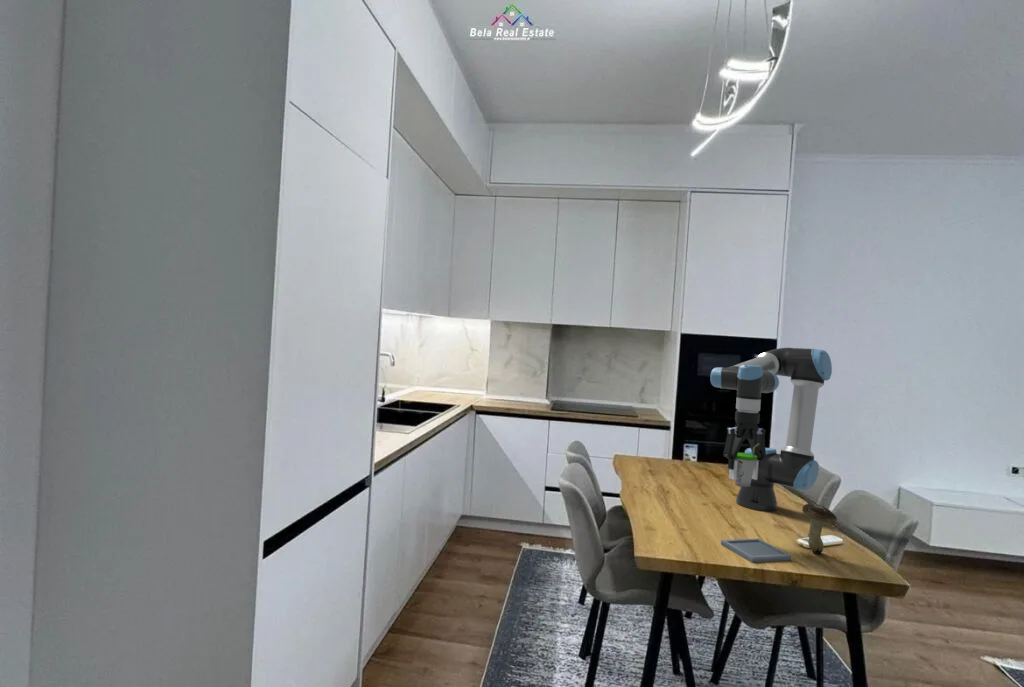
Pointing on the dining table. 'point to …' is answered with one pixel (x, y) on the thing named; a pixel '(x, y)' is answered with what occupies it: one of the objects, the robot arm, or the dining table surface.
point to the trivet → (755, 550)
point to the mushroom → (817, 524)
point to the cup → (745, 468)
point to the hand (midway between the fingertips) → (743, 478)
